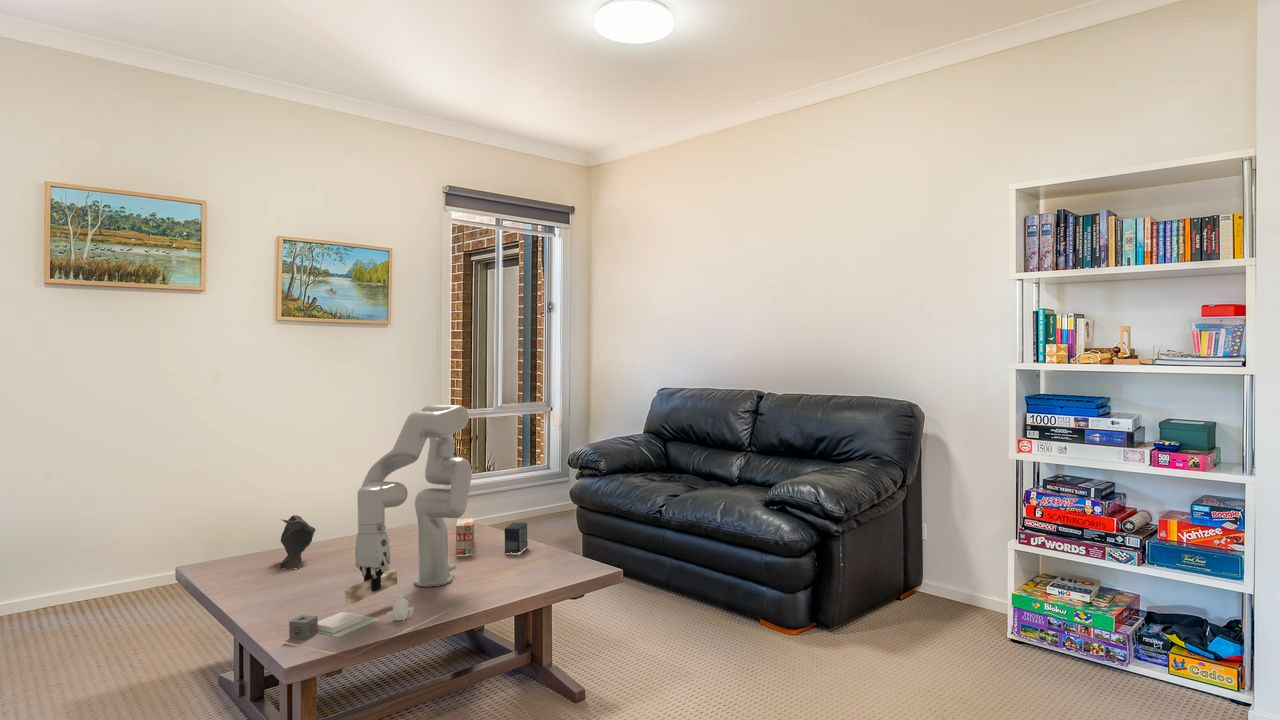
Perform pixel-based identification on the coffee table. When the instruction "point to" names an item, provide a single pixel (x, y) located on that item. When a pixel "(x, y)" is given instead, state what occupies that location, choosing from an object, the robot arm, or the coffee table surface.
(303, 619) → the dice cube
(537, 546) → the coffee table surface
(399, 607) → the rocket toy
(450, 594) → the coffee table surface
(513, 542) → the small box
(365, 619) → the sage mat
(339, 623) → the cream tile
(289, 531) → the dark grey sculpture
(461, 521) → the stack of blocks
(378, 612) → the coffee table surface
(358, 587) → the tan wavy bar
